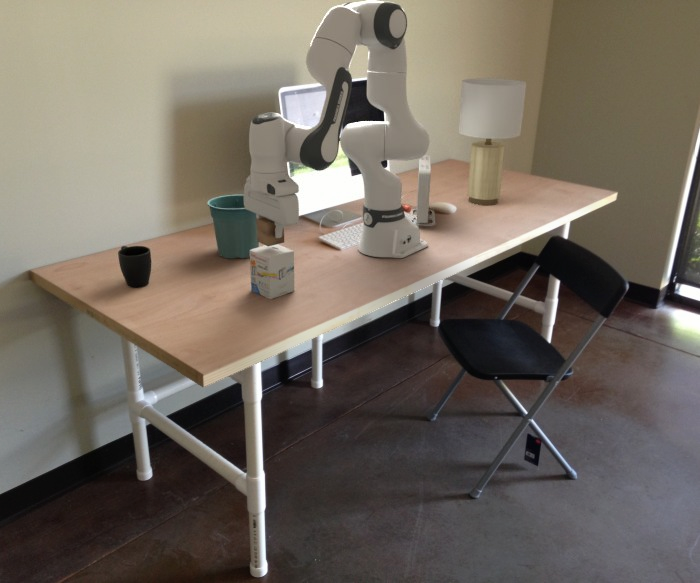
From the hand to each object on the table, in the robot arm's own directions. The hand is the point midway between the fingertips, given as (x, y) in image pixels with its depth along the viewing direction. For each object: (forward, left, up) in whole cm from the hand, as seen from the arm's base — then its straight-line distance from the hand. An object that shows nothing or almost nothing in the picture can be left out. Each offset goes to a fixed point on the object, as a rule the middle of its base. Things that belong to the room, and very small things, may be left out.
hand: (270, 234), depth 174 cm
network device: (-78, -22, -16) cm, 83 cm away
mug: (+26, -28, -16) cm, 41 cm away
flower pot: (-8, -31, -16) cm, 36 cm away
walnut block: (0, 0, -2) cm, 2 cm away
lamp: (-112, -23, -16) cm, 115 cm away
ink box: (0, 0, -16) cm, 16 cm away
